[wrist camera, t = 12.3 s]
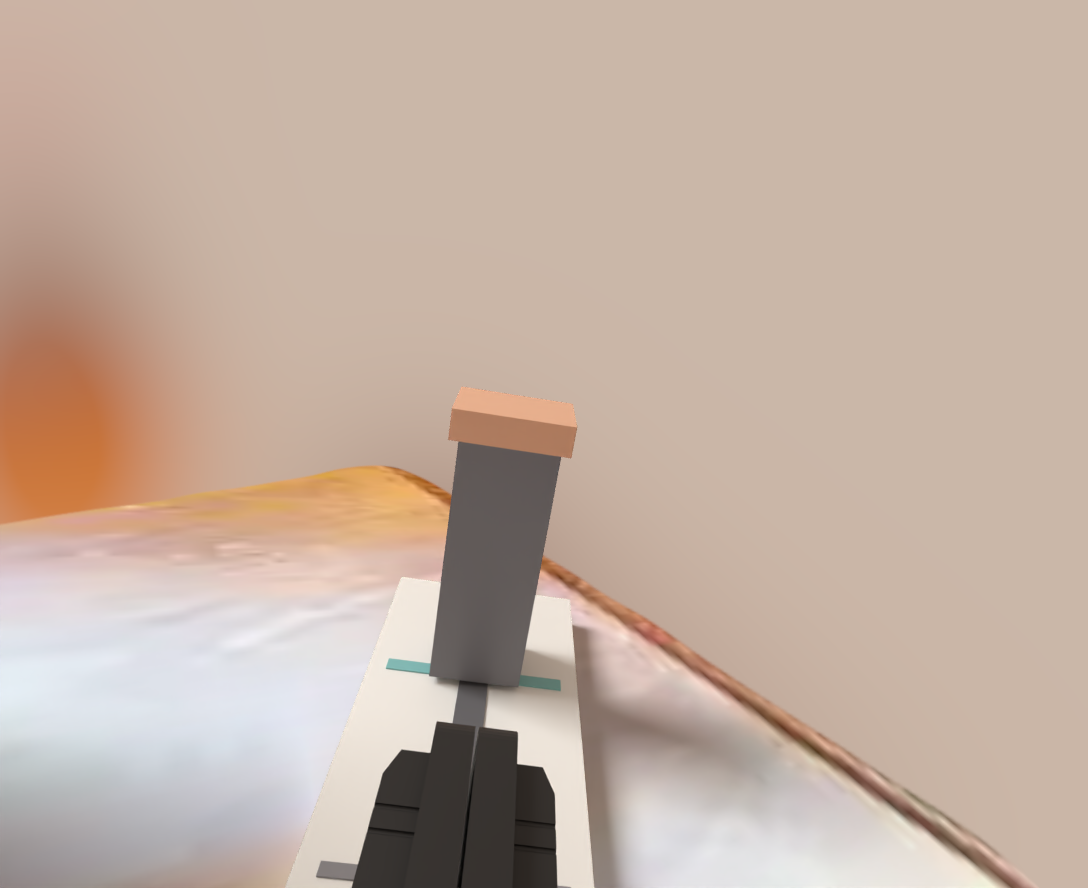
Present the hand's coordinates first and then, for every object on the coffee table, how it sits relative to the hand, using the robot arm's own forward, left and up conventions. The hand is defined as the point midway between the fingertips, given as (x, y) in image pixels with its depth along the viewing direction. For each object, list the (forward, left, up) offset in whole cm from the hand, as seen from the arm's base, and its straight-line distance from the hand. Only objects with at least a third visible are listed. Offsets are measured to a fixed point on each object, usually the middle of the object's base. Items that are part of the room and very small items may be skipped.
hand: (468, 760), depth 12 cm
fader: (0, +22, -15) cm, 26 cm away
